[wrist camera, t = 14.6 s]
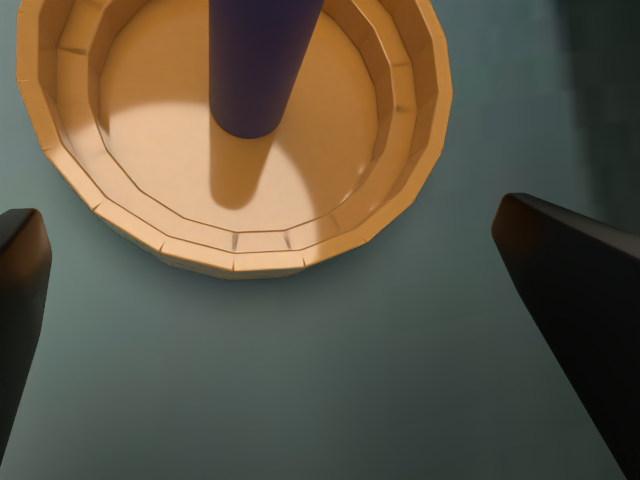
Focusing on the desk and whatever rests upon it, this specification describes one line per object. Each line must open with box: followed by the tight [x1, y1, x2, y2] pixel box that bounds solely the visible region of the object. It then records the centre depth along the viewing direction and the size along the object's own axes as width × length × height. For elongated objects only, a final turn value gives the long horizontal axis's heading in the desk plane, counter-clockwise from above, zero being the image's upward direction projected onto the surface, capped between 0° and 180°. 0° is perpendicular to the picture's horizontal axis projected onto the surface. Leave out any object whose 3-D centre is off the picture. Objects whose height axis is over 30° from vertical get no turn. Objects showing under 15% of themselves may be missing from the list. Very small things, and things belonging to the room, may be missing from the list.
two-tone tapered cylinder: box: [209, 0, 325, 139], centre depth 13 cm, size 3×3×13 cm
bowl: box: [16, 0, 453, 280], centre depth 18 cm, size 14×14×4 cm
